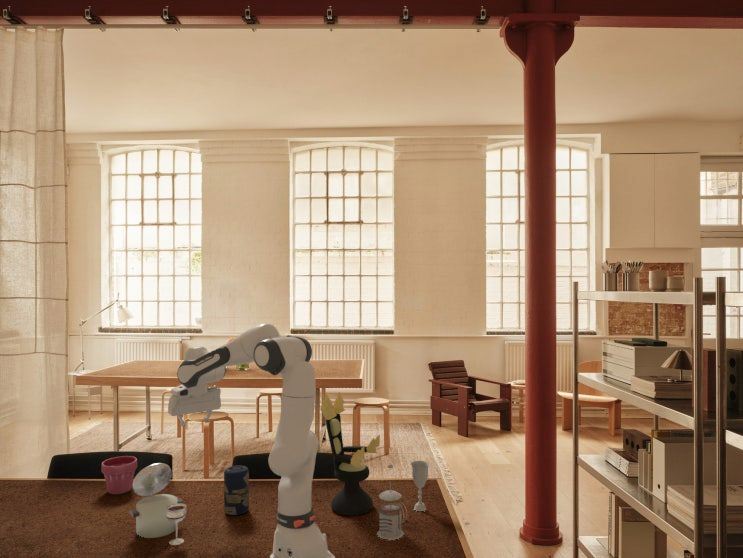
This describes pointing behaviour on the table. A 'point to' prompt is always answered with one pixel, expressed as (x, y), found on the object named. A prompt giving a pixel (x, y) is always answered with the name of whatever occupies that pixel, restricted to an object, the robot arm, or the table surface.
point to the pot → (154, 515)
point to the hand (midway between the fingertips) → (194, 423)
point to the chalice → (420, 480)
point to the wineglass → (176, 518)
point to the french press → (395, 529)
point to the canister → (236, 490)
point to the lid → (152, 479)
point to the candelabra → (347, 463)
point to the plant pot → (119, 473)
